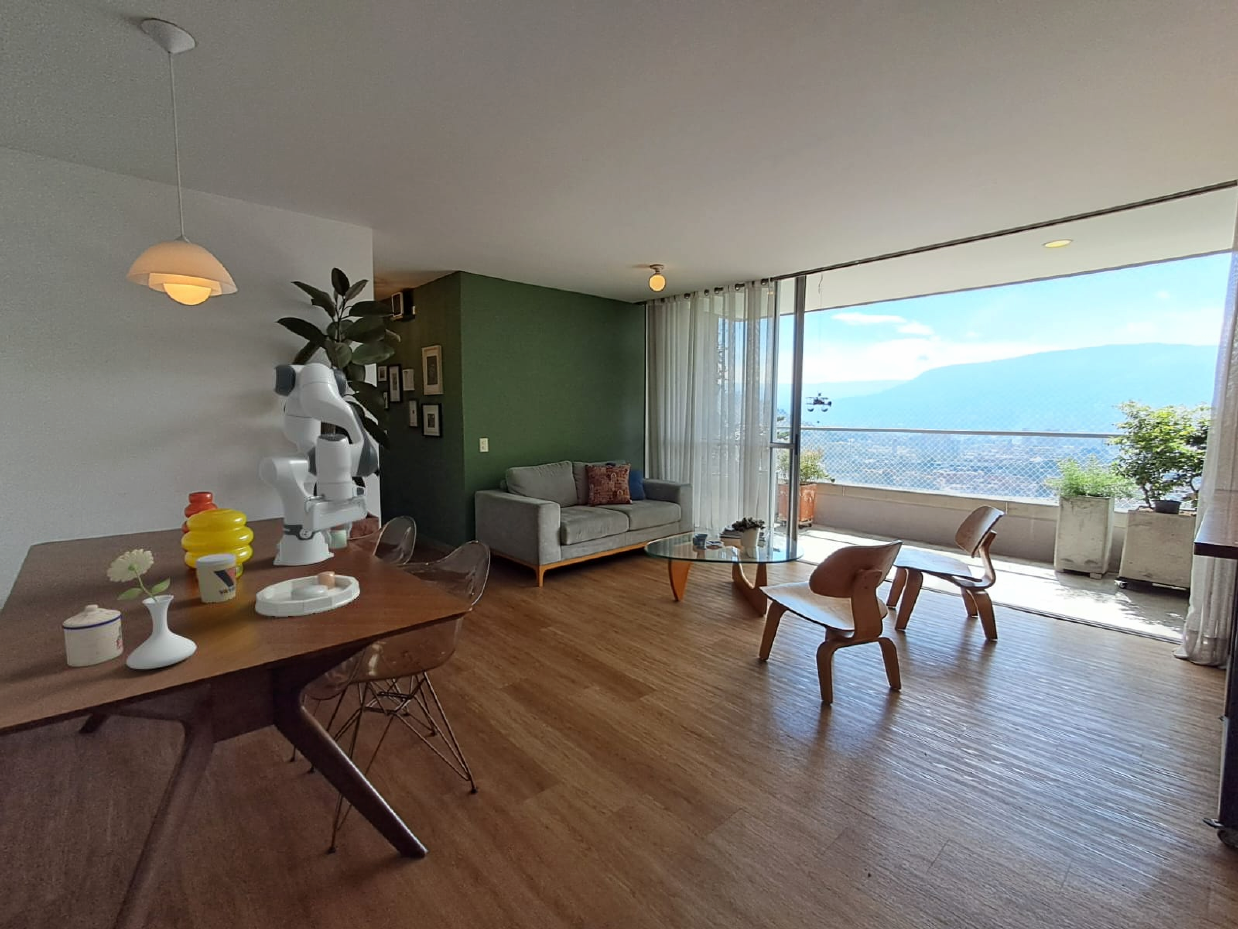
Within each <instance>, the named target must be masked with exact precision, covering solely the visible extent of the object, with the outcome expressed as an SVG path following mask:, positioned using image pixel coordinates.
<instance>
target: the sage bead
mask: <svg viewBox="0 0 1238 929" xmlns="http://www.w3.org/2000/svg"><path fill="white" fill-rule="evenodd" d="M329 533H330V535H331V536H333V537H334V542H333V543H330V544H328V549H331V550H332V549H342V548H346V547H347V545H348V543H347V540H348V539H346V530H343V529H333V530H331V531H330V532H329Z"/></svg>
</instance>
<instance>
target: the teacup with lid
mask: <svg viewBox="0 0 1238 929" xmlns="http://www.w3.org/2000/svg"><path fill="white" fill-rule="evenodd" d="M122 615H123V614H122V613H121V612H120V611H119V610H116V609H106V608H103V607H102V608H101V607H99V606H98V604H90V605H86V606H85V607H84V610H83V611H81V612H79V613H78V614H76V615H75V616H71V617H69V618H67V619H65V620H64V621H63V623H62V625H61V628H62V629H63V632H64V644H65V652H66V663H67V665H68V666H70V667H73V668H74V667H75V668H76V667H78V668H79V667H80V668H81V667H82V668H83V667H88V666H94V665H99V664H101V663H105V662H109V661H110V660H111V661H112V660H113V659H116V658H118V657H119V656H120V655H122V654H123V651H124V645H123V644H124V643H123V634H122V633H123V632H122V625H121V624H122V622H121V617H122Z"/></svg>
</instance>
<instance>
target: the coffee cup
mask: <svg viewBox="0 0 1238 929" xmlns="http://www.w3.org/2000/svg"><path fill="white" fill-rule="evenodd" d="M194 564H195V566H196V575H197V581H198V586H199V591H200V592H199V593H200V597H201V598H200V599H201V602H202V603H204V602H205V604H213V603H212V602H216V603H221V602H226V601H229V600H228V599H230V600H231V599H234V598H235V597H236V592H237V591H236V590H237V585H236V584H237V556H236V554H234V553H217V554H209V555H206V556H205V555H204V556H202V557H199V558H197V559H196V561H195V563H194ZM233 597H234V598H233ZM209 602H210V603H209Z"/></svg>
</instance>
